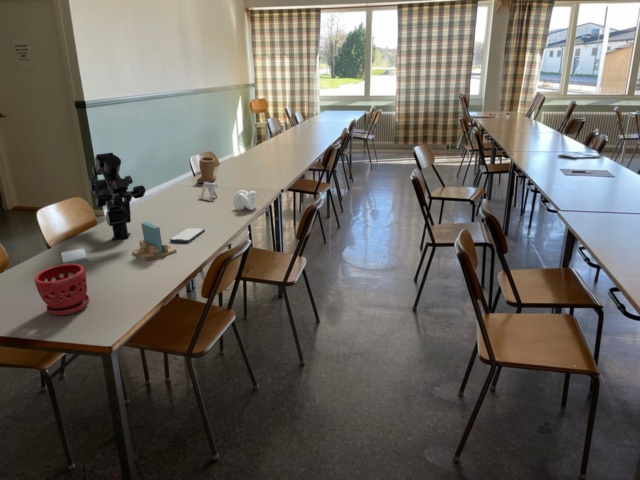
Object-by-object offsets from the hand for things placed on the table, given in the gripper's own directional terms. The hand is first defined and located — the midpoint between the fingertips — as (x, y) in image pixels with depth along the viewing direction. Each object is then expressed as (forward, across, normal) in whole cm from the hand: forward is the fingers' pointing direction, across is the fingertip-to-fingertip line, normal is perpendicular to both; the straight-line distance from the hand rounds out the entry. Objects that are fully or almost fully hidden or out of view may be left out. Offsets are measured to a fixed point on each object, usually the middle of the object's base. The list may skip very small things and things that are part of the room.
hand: (129, 214), depth 190 cm
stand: (+19, +2, -2) cm, 19 cm away
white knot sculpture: (+5, +59, +18) cm, 62 cm away
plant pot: (+35, -36, -22) cm, 55 cm away
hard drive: (+8, -22, +11) cm, 26 cm away
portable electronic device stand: (-16, +56, +42) cm, 72 cm away
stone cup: (-40, +77, +71) cm, 112 cm away
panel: (+18, +2, -3) cm, 19 cm away
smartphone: (+15, +20, +5) cm, 25 cm away
